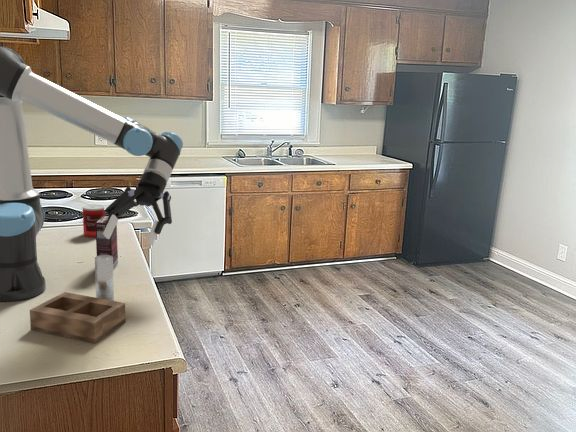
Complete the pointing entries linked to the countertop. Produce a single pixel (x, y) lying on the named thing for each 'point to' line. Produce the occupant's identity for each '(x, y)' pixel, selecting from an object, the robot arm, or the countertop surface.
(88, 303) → the socket block
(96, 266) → the pin
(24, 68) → the robot arm
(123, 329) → the countertop surface
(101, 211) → the red supplement bottle
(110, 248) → the supplement box
